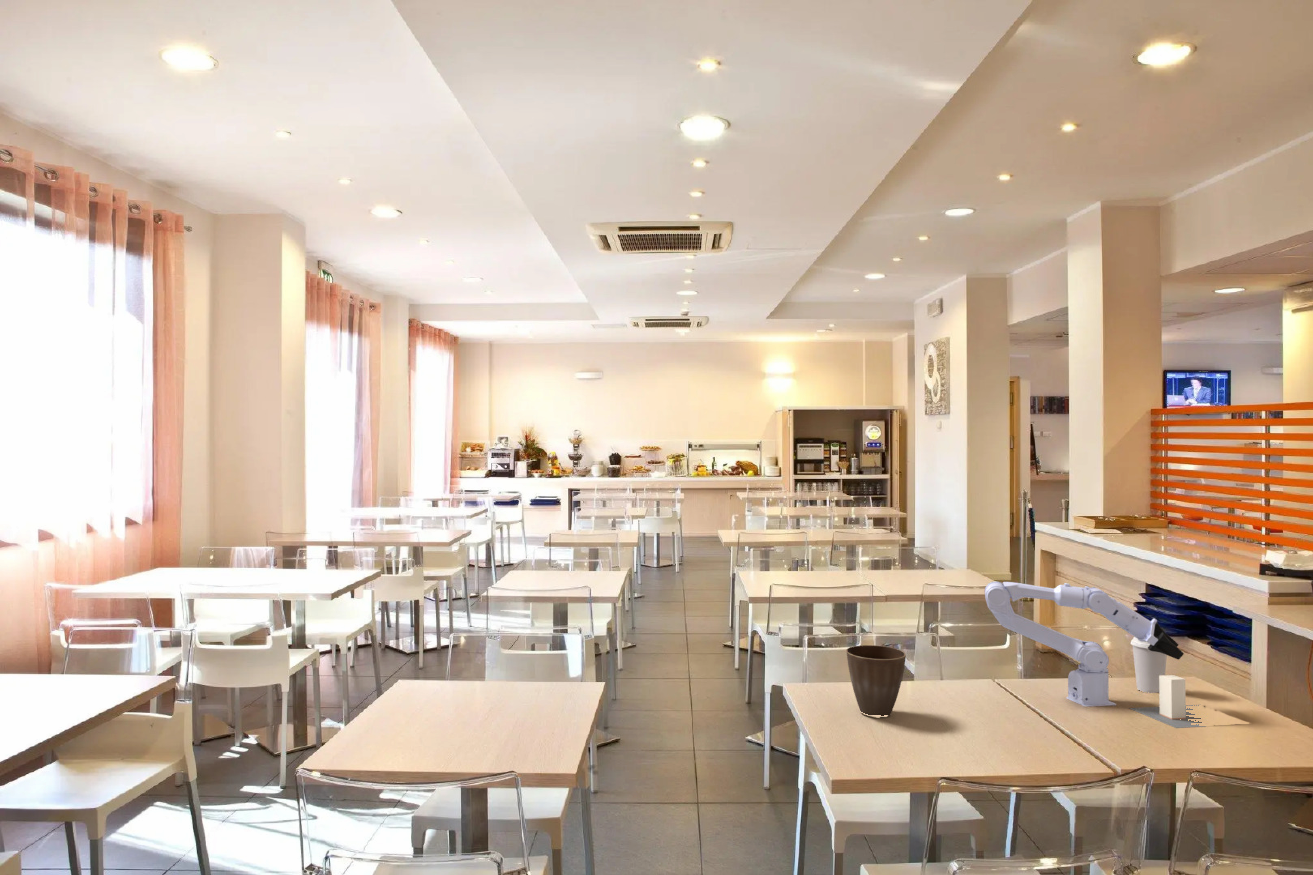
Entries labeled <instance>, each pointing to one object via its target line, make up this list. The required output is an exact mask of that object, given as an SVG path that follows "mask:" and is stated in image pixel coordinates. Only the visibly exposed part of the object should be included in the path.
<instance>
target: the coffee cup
mask: <svg viewBox="0 0 1313 875" xmlns="http://www.w3.org/2000/svg"><path fill="white" fill-rule="evenodd" d="M1130 645H1132V653H1133V664H1134V671H1135V673H1134V674H1135V681H1136V690H1137V689H1138V690H1140V691H1139V692H1141V691H1143V692H1142V693H1144V692H1147V693H1146V694H1159V675H1166V667H1167V656H1168V655H1166V654H1163V653H1160V652H1154V651H1150V650H1149V649H1148V647H1149V645H1150V643H1148V642H1141V641H1139V640H1138V639H1137V638H1136V637H1134V636H1133V638H1132V639H1131V641H1130ZM1138 690H1137V691H1138ZM1148 692H1149V693H1148Z"/></svg>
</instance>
